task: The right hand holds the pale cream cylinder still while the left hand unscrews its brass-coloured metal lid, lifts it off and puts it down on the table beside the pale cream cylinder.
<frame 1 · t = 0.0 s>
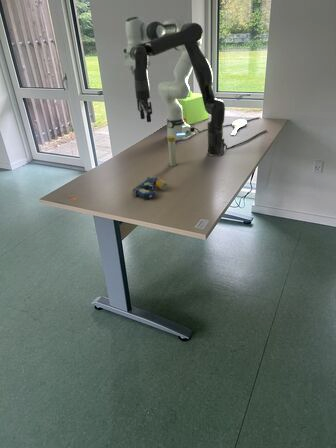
left hand: (138, 74, 205), 48 cm above the table, tool pointing down, fingers open, 8 cm apart
right hand: (145, 120, 182), 29 cm above the table, tool pointing down, fingers open, 8 cm apart
lime green box: (189, 120, 289), on the table
lid: (171, 137, 194), point 17 cm above the table, screwed on, not yet turned
spray gun: (151, 191, 173), on the table
pale cream cylinder: (173, 164, 203), on the table
spoon: (237, 128, 256), on the table
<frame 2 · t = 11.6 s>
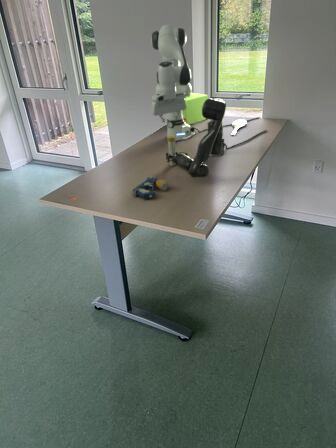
left hand: (169, 120, 189), 26 cm above the table, tool pointing down, fingers open, 7 cm apart
right hand: (170, 153, 202), 6 cm above the table, tool horizontal, fingers closed on pale cream cylinder, 4 cm apart
pale cream cylinder: (173, 164, 203), on the table, touching right hand
everything else where it was.
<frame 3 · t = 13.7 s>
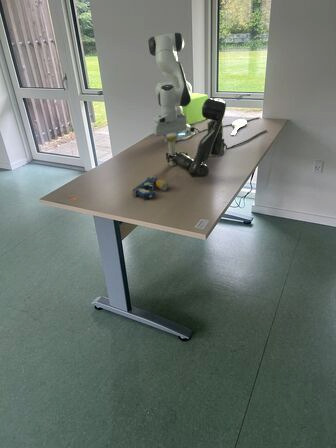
left hand: (171, 140, 195), 15 cm above the table, tool pointing down, fingers closed on lid, 4 cm apart
right hand: (170, 153, 202), 6 cm above the table, tool horizontal, fingers closed on pale cream cylinder, 4 cm apart
lid: (171, 137, 194), point 17 cm above the table, screwed on, not yet turned, touching left hand
pale cream cylinder: (173, 164, 203), on the table, touching right hand
everything else where it was.
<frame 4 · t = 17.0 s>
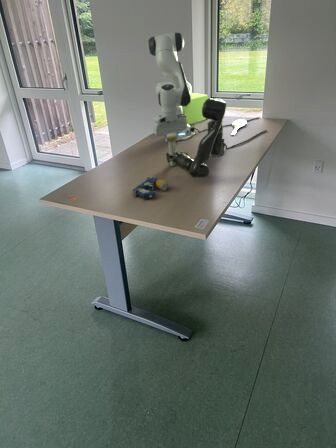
left hand: (171, 140, 195), 15 cm above the table, tool pointing down, fingers closed on lid, 4 cm apart
right hand: (170, 153, 202), 6 cm above the table, tool horizontal, fingers closed on pale cream cylinder, 4 cm apart
lid: (171, 137, 194), point 17 cm above the table, turned 73° so far, risen 0.1 cm, still on its thread, touching left hand
pale cream cylinder: (173, 164, 203), on the table, touching right hand
everything else where it was.
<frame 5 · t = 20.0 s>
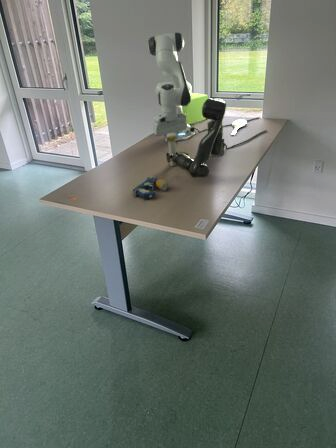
left hand: (171, 140, 195), 15 cm above the table, tool pointing down, fingers closed on lid, 4 cm apart
right hand: (170, 153, 202), 6 cm above the table, tool horizontal, fingers closed on pale cream cylinder, 4 cm apart
lid: (171, 136, 194), point 17 cm above the table, turned 145° so far, risen 0.2 cm, still on its thread, touching left hand
pale cream cylinder: (173, 164, 203), on the table, touching right hand
everything else where it was.
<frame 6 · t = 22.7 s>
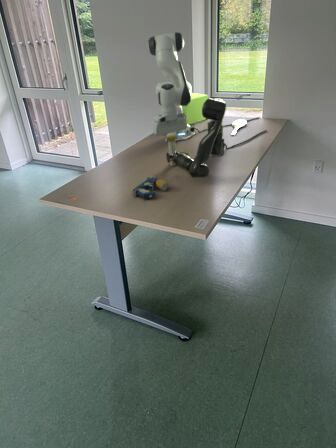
left hand: (171, 139, 195), 15 cm above the table, tool pointing down, fingers closed on lid, 4 cm apart
right hand: (170, 153, 202), 6 cm above the table, tool horizontal, fingers closed on pale cream cylinder, 4 cm apart
lid: (171, 136, 194), point 17 cm above the table, turned 217° so far, risen 0.4 cm, still on its thread, touching left hand
pale cream cylinder: (173, 164, 203), on the table, touching right hand
everything else where it was.
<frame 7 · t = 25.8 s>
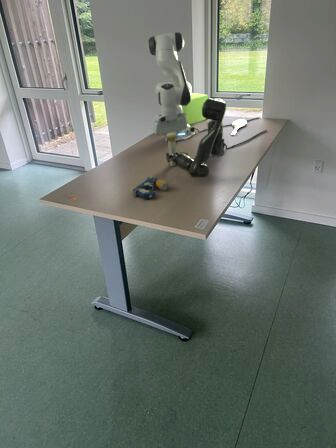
left hand: (171, 139, 195), 15 cm above the table, tool pointing down, fingers closed on lid, 4 cm apart
right hand: (170, 153, 202), 6 cm above the table, tool horizontal, fingers closed on pale cream cylinder, 4 cm apart
lid: (171, 136, 194), point 17 cm above the table, turned 290° so far, risen 0.5 cm, still on its thread, touching left hand
pale cream cylinder: (173, 164, 203), on the table, touching right hand
everything else where it was.
when the left hand's fingers open (2 cm above the table, at t = 34.6 s): lid drops 2 cm, point 2 cm above the table.
when the right hand's fingers open (6 cm above the table, at t = 35.7 s): pale cream cylinder stays where it is, on the table.
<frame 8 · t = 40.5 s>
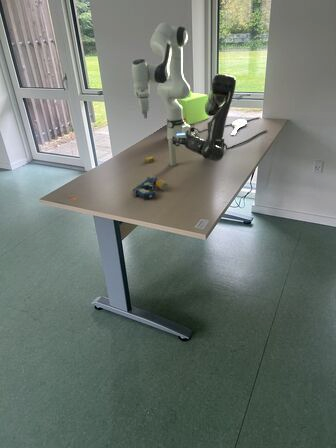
left hand: (144, 116, 197), 28 cm above the table, tool pointing down, fingers open, 8 cm apart
right hand: (179, 136, 184), 20 cm above the table, tool horizontal, fingers open, 8 cm apart
lid: (149, 158, 210), point 2 cm above the table, off its thread
pale cream cylinder: (173, 164, 203), on the table
everything else where it was.
at the end: lid came off its thread; lid point 1.8 cm above the table; the left hand is holding nothing; the right hand is holding nothing; pale cream cylinder tilted 0°; pale cream cylinder moved 0.3 cm from its start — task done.
